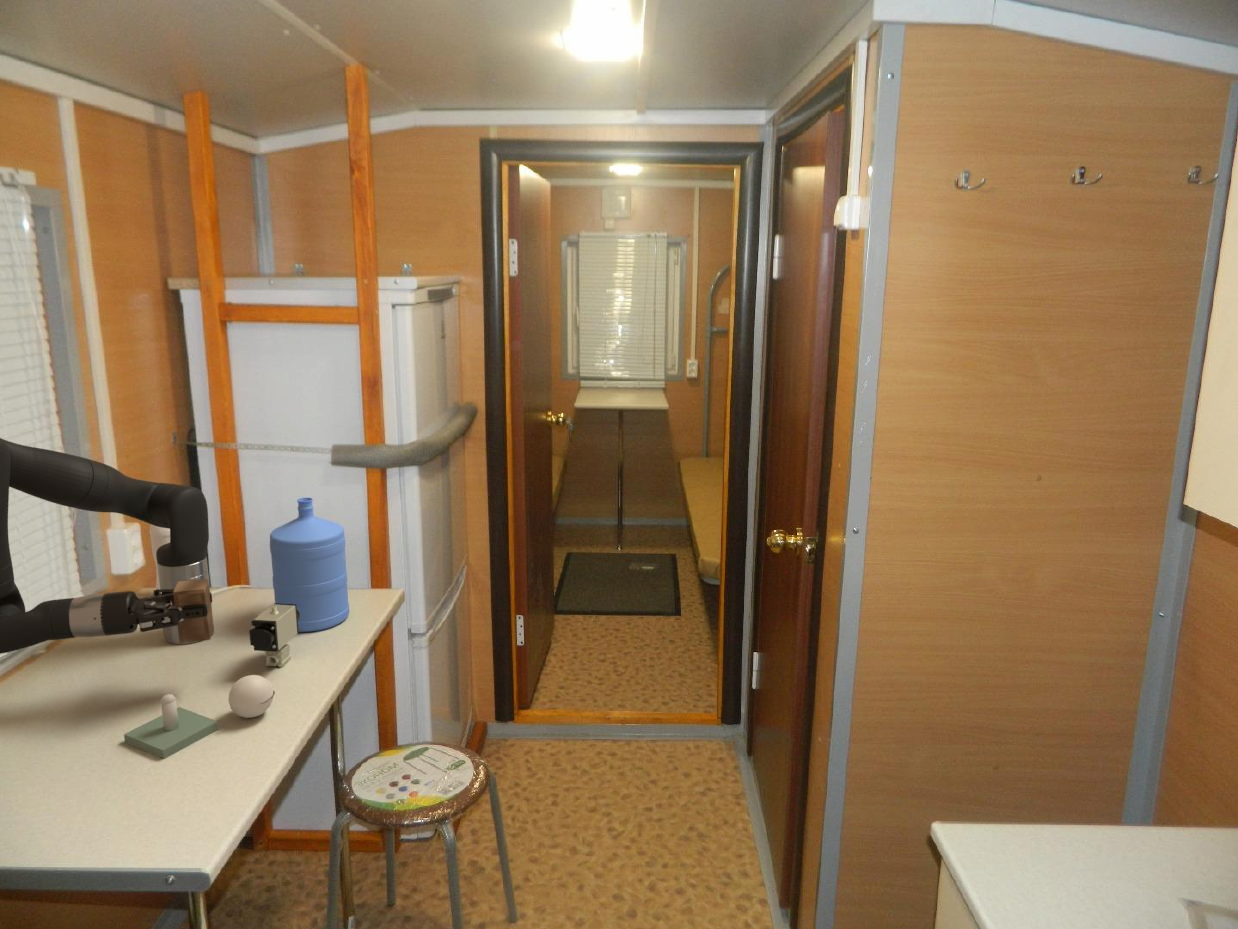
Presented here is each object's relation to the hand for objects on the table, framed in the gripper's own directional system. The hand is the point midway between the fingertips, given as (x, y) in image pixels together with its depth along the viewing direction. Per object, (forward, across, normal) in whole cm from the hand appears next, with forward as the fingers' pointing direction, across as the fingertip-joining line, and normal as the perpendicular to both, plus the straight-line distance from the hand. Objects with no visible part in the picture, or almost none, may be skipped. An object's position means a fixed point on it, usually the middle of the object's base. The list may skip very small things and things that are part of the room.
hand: (209, 603), depth 152 cm
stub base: (-5, -17, +16) cm, 24 cm away
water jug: (+16, +27, +18) cm, 36 cm away
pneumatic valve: (+10, +7, +17) cm, 21 cm away
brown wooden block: (-3, 0, +6) cm, 7 cm away
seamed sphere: (+8, -12, +17) cm, 22 cm away
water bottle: (-16, +49, +18) cm, 54 cm away
